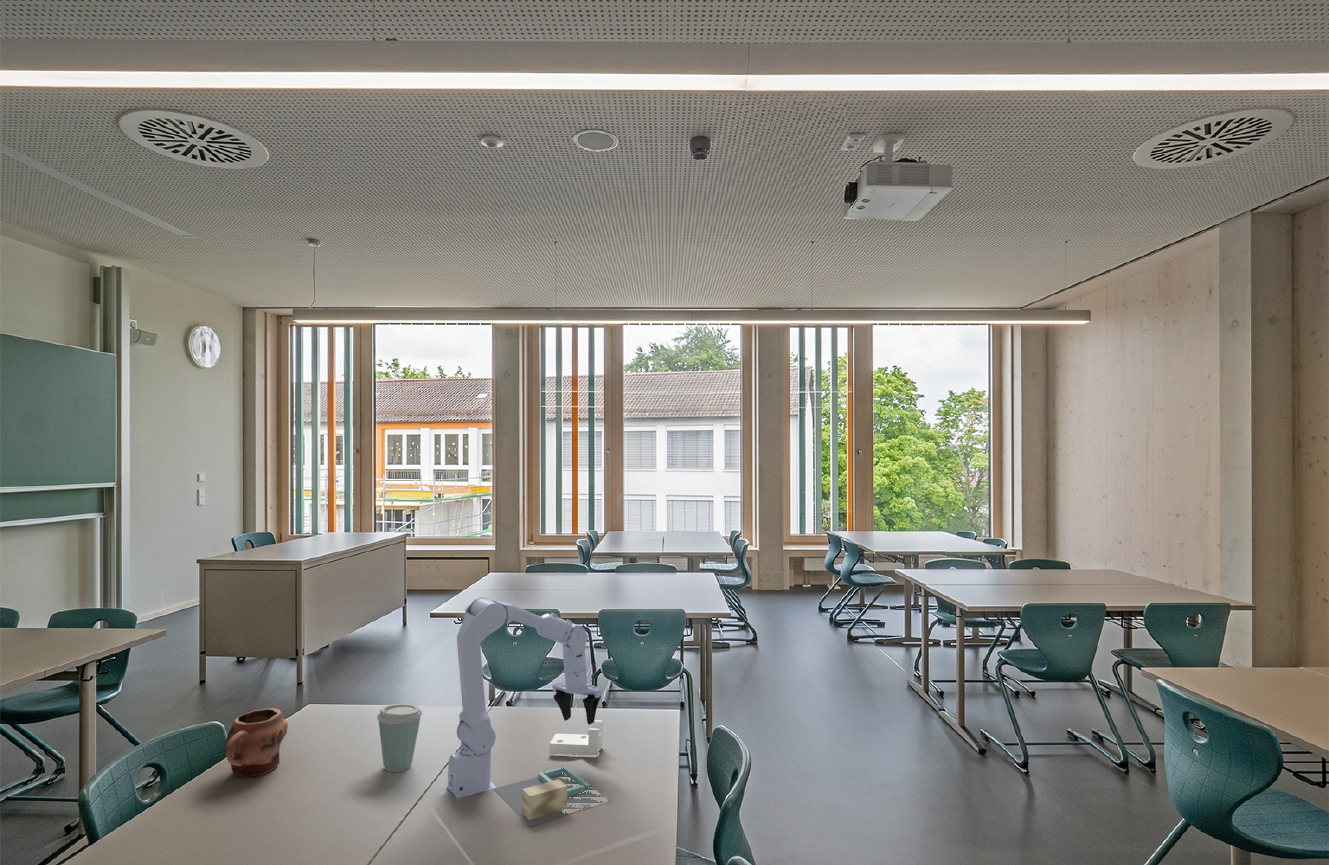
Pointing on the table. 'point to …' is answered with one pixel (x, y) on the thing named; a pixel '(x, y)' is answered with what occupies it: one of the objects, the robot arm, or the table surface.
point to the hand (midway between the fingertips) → (579, 720)
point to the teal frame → (571, 791)
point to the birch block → (544, 799)
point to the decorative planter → (255, 742)
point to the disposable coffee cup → (398, 735)
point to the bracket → (579, 742)
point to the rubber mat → (514, 791)
